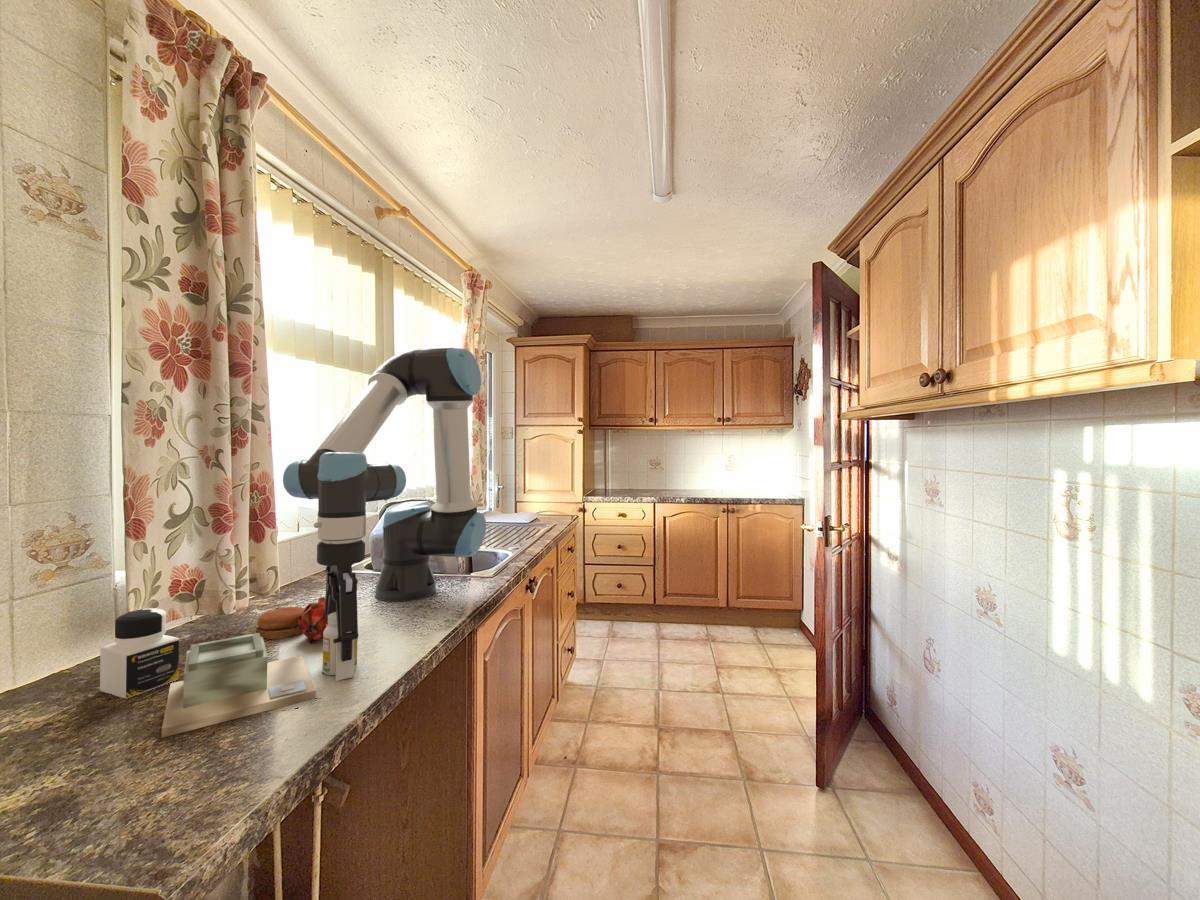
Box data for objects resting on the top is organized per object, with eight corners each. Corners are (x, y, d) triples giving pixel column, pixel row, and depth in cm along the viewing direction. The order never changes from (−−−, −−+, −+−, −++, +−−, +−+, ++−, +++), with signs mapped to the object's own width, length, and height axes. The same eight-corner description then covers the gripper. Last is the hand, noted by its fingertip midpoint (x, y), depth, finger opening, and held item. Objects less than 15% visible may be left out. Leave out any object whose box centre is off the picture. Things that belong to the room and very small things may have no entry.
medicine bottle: (126, 700, 76) (127, 621, 76) (98, 691, 78) (99, 615, 78) (179, 680, 82) (180, 608, 82) (152, 673, 85) (153, 603, 85)
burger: (286, 642, 99) (286, 618, 99) (244, 639, 100) (244, 616, 100) (319, 625, 109) (320, 604, 109) (281, 623, 110) (281, 602, 110)
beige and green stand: (301, 662, 90) (302, 622, 90) (315, 697, 77) (316, 651, 77) (170, 690, 79) (171, 645, 79) (161, 737, 66) (162, 683, 66)
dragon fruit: (339, 632, 108) (315, 664, 97) (305, 612, 107) (275, 641, 95) (362, 602, 108) (340, 630, 96) (328, 581, 106) (301, 607, 95)
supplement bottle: (362, 662, 90) (363, 609, 90) (348, 676, 85) (348, 619, 85) (332, 662, 90) (333, 608, 90) (316, 675, 84) (316, 619, 84)
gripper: (308, 533, 93) (306, 652, 93) (328, 552, 76) (325, 698, 76) (351, 529, 98) (349, 643, 98) (380, 547, 81) (377, 685, 81)
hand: (339, 667), depth 87 cm, fingers open, 9 cm apart
